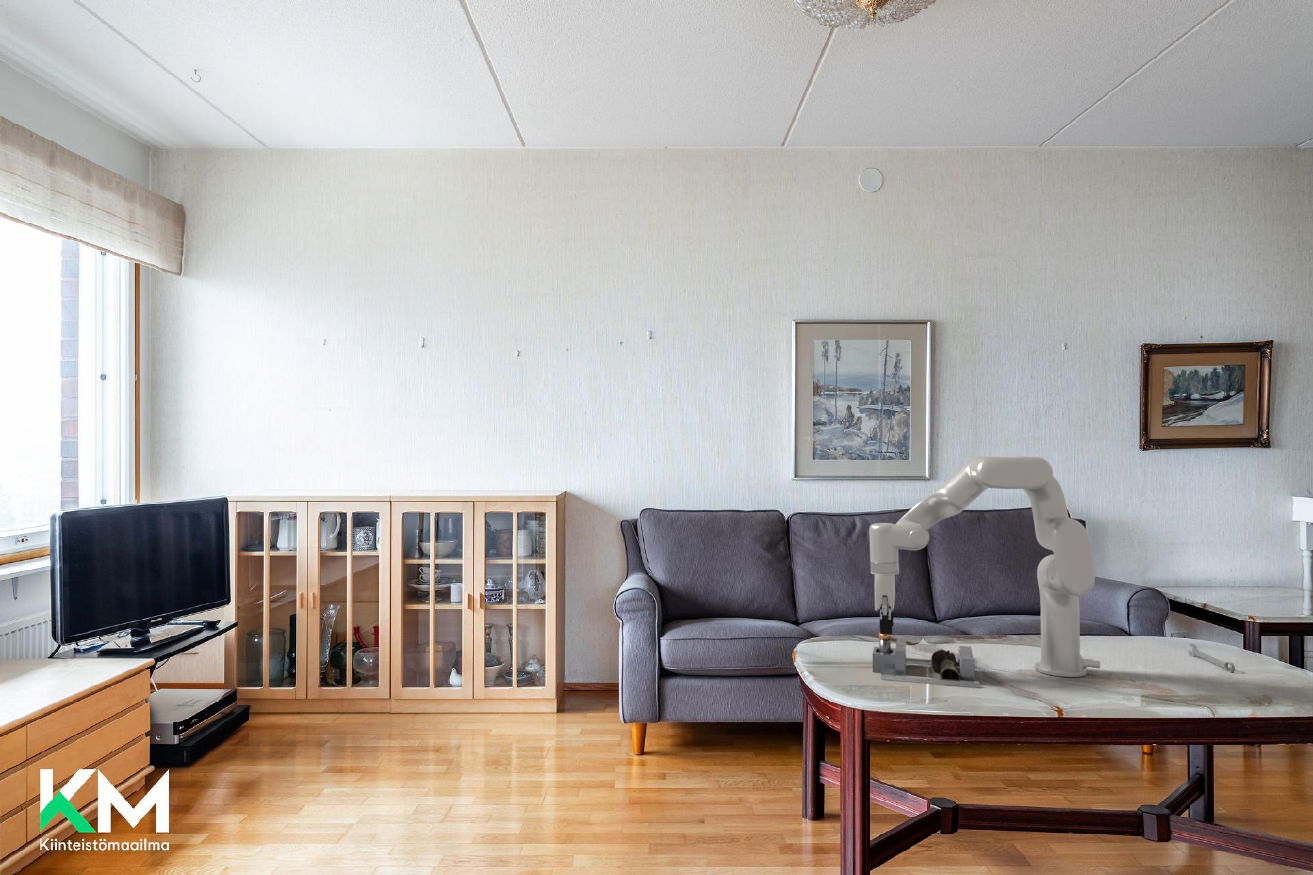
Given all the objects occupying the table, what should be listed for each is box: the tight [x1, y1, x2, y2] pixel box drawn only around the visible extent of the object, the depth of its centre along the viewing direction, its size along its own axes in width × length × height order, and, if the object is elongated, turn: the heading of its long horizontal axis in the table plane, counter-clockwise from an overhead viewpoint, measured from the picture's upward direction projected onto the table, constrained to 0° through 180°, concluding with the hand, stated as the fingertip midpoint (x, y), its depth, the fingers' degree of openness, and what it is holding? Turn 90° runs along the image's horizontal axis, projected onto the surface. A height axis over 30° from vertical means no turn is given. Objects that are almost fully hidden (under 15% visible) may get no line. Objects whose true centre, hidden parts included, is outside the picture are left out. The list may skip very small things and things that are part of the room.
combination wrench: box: [1187, 643, 1236, 673], centre depth 222 cm, size 4×1×20 cm
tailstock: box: [872, 638, 907, 676], centre depth 215 cm, size 8×14×7 cm, turn 161°
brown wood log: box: [930, 648, 961, 680], centre depth 211 cm, size 18×7×6 cm, turn 162°
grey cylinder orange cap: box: [878, 631, 892, 653], centre depth 216 cm, size 3×3×10 cm
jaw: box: [957, 645, 975, 681], centre depth 209 cm, size 3×14×6 cm, turn 161°
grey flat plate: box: [880, 656, 980, 689], centre depth 212 cm, size 24×20×1 cm
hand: (887, 630), depth 216 cm, fingers open, 9 cm apart
